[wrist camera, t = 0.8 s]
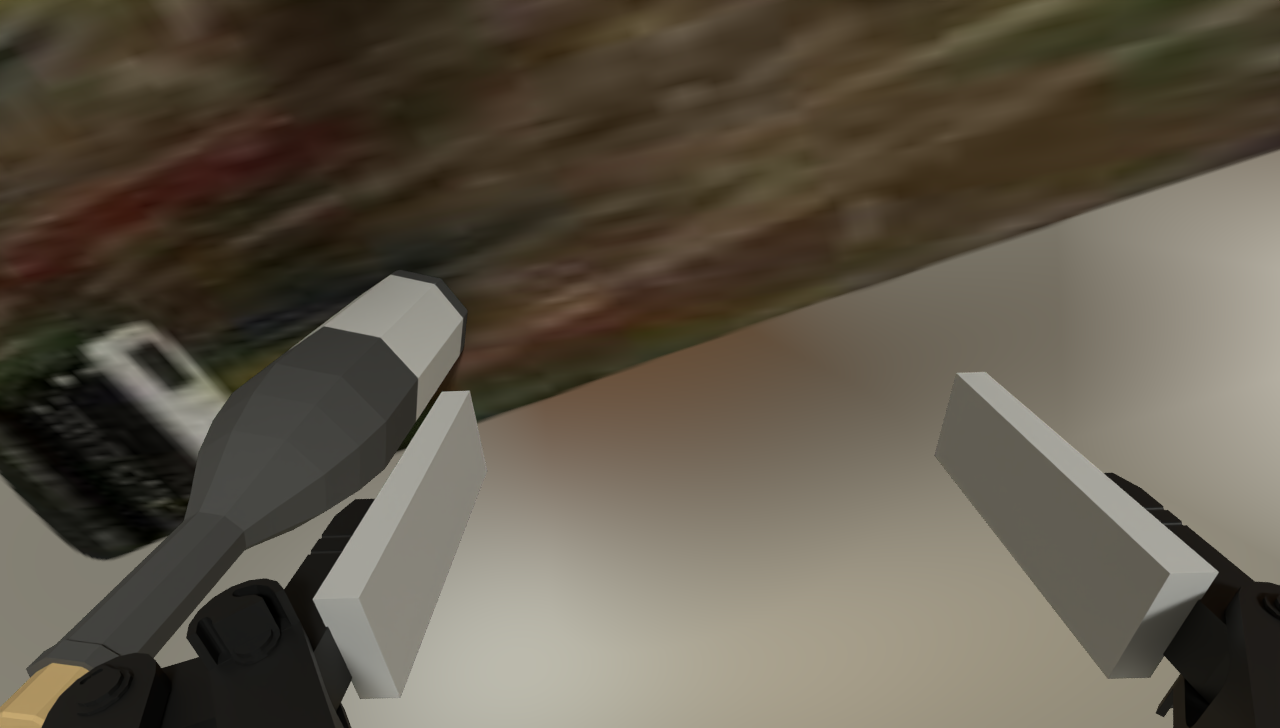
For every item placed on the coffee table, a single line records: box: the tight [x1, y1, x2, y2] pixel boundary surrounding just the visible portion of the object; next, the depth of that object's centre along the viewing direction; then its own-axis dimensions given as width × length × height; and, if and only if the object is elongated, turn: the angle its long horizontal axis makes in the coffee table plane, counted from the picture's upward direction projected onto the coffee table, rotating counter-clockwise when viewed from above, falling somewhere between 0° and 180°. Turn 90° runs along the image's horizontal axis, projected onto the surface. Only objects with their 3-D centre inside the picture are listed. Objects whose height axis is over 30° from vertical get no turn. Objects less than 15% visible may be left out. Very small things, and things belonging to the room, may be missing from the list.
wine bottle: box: [0, 270, 467, 728], centre depth 28 cm, size 8×8×30 cm
